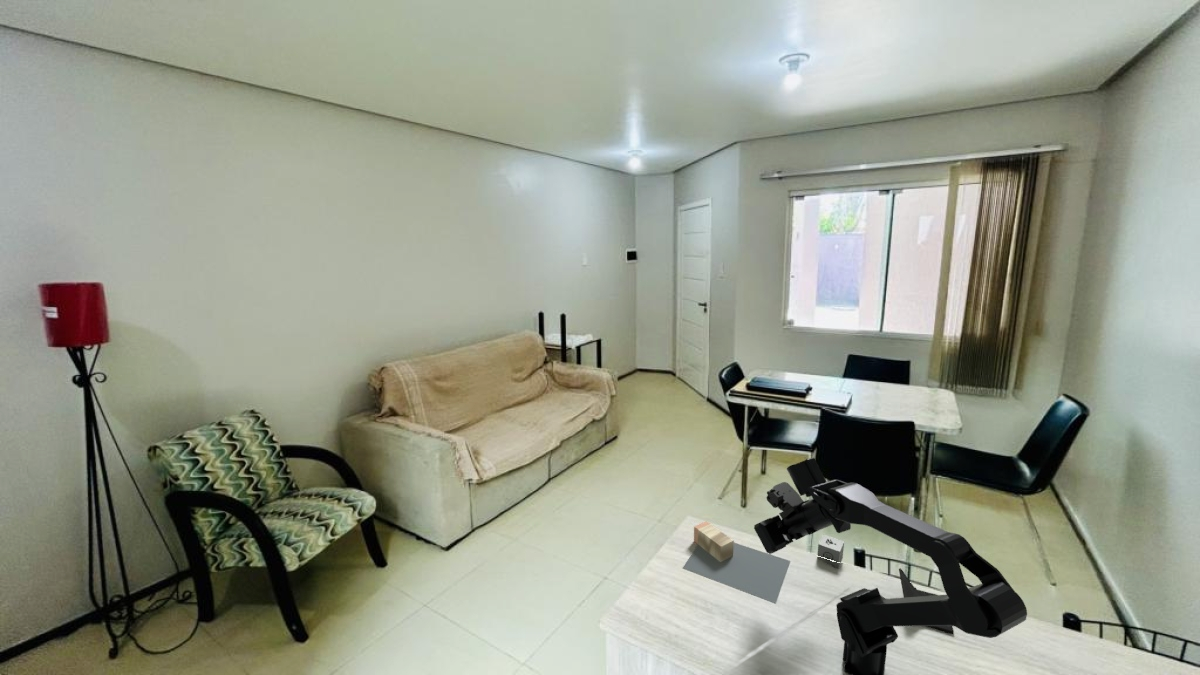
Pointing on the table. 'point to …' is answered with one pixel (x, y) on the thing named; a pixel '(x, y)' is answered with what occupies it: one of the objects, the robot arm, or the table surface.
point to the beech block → (713, 541)
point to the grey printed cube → (831, 550)
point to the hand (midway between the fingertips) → (769, 535)
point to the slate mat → (742, 570)
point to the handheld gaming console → (913, 592)
